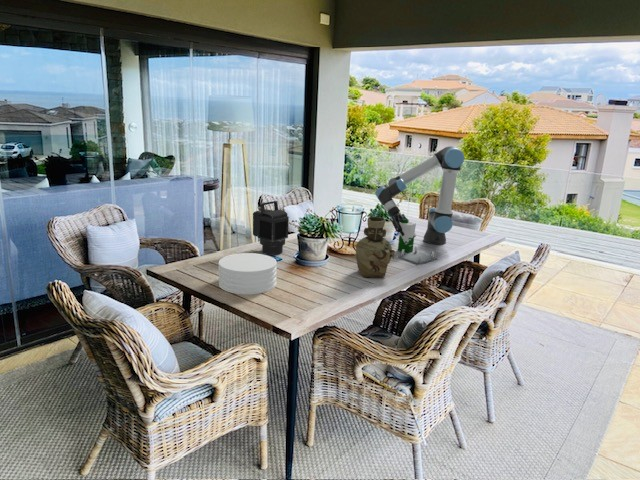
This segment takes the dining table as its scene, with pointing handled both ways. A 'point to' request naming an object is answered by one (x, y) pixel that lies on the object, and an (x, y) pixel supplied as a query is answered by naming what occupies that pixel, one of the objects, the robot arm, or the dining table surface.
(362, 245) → the ceramic vessel
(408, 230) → the soya milk
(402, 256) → the peg dock
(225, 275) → the plate stack
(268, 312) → the dining table surface
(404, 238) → the robot arm
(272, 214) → the lantern
